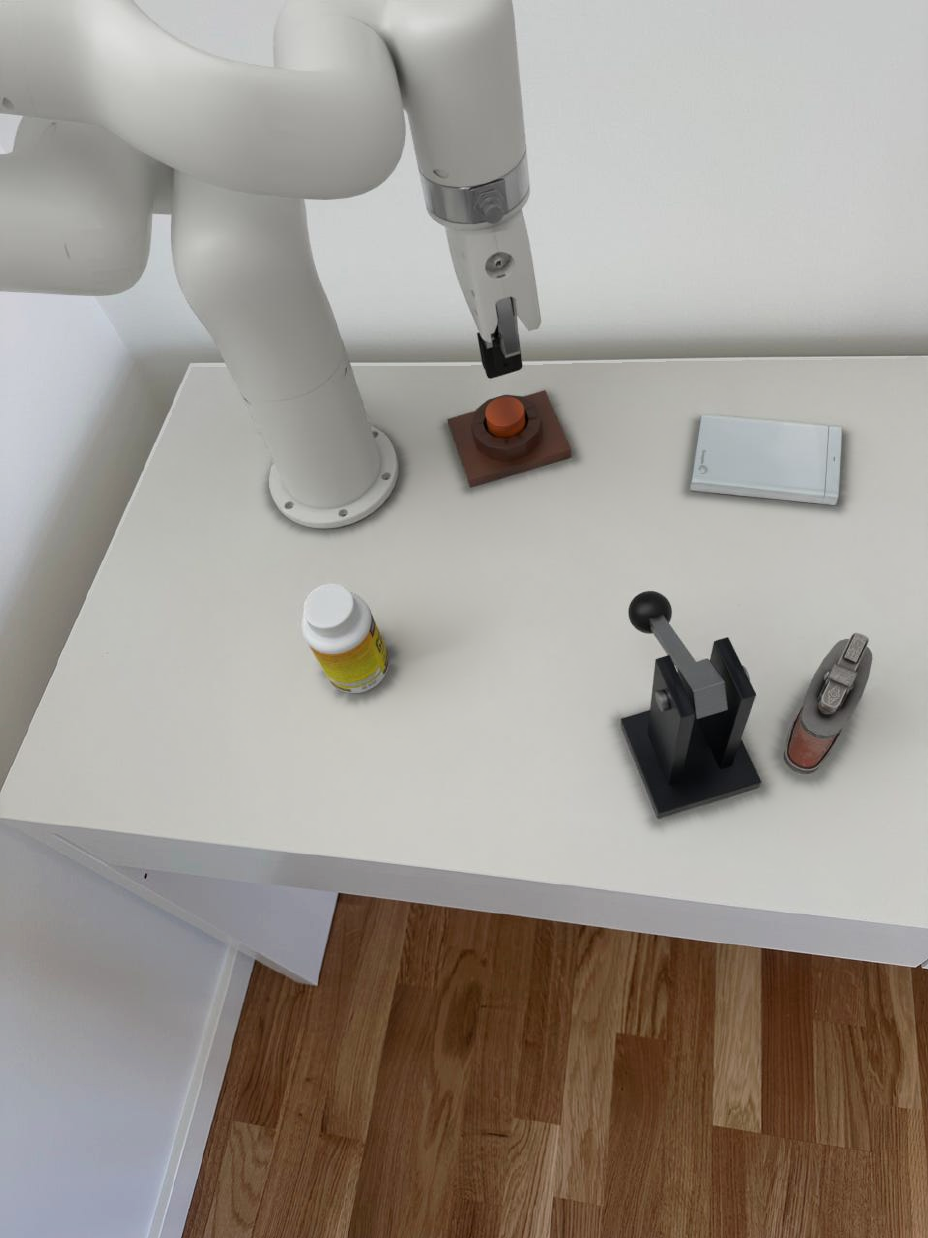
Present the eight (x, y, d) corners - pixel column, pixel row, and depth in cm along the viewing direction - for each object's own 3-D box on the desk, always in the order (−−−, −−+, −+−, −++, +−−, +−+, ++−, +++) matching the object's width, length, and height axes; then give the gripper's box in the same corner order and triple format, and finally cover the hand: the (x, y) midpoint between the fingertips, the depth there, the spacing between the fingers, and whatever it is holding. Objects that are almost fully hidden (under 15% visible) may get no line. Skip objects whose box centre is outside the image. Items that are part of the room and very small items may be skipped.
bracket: (620, 725, 72) (623, 642, 60) (716, 695, 72) (738, 607, 61) (657, 819, 68) (668, 750, 56) (759, 788, 68) (792, 712, 56)
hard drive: (690, 481, 81) (839, 495, 78) (701, 411, 85) (843, 422, 82) (689, 492, 82) (835, 507, 80) (699, 423, 86) (839, 434, 83)
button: (493, 442, 85) (491, 430, 83) (482, 415, 87) (480, 402, 85) (530, 431, 85) (529, 419, 83) (519, 404, 87) (517, 391, 85)
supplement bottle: (401, 677, 77) (375, 616, 68) (341, 707, 76) (307, 649, 67) (375, 627, 80) (347, 562, 71) (317, 655, 79) (281, 593, 70)
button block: (469, 487, 86) (465, 467, 83) (448, 427, 90) (444, 405, 87) (571, 457, 86) (570, 436, 84) (545, 398, 90) (544, 376, 88)
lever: (625, 624, 71) (619, 590, 69) (665, 613, 71) (660, 578, 69) (689, 726, 60) (684, 688, 58) (736, 712, 60) (732, 674, 58)
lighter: (817, 782, 68) (848, 729, 59) (773, 761, 69) (797, 706, 61) (857, 695, 71) (892, 633, 62) (814, 677, 72) (843, 613, 63)
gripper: (559, 225, 60) (571, 416, 76) (496, 105, 68) (519, 300, 84) (450, 258, 60) (484, 442, 76) (399, 134, 68) (440, 324, 84)
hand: (502, 367), depth 80 cm, fingers closed
